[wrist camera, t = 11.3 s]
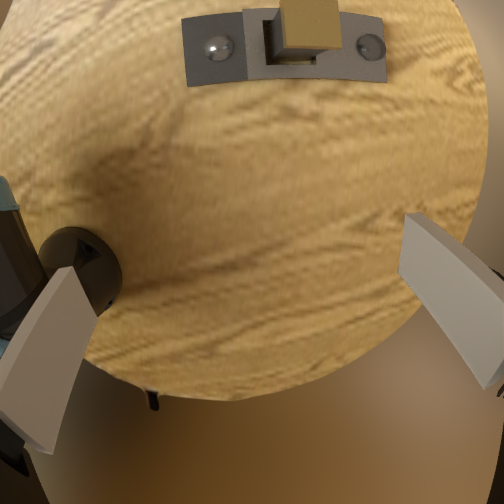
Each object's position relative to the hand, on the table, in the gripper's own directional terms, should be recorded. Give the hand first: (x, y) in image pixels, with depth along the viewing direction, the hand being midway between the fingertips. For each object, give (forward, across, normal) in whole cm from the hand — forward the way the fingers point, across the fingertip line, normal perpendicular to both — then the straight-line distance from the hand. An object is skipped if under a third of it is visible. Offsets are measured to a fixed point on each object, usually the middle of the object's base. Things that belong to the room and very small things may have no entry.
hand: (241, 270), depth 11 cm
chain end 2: (+28, +13, +12) cm, 33 cm away
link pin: (+28, +9, +12) cm, 32 cm away
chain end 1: (+28, +5, +12) cm, 31 cm away
